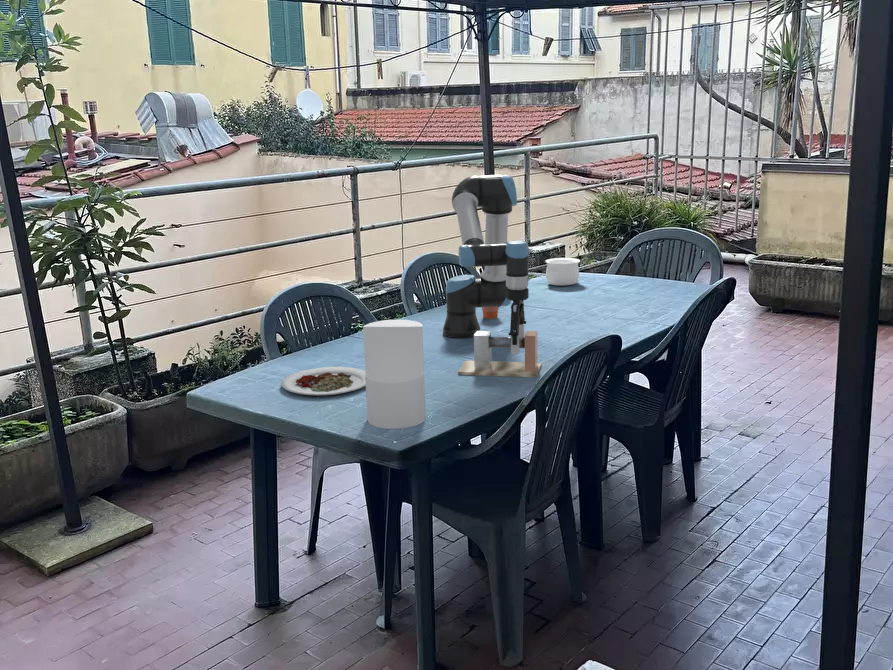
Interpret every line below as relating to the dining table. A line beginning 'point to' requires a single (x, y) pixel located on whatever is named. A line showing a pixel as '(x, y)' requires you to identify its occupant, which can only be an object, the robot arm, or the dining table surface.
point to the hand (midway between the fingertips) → (517, 348)
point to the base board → (499, 369)
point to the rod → (504, 342)
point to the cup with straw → (490, 312)
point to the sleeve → (482, 350)
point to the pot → (562, 271)
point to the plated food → (325, 381)
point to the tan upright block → (531, 350)
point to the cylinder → (394, 373)
